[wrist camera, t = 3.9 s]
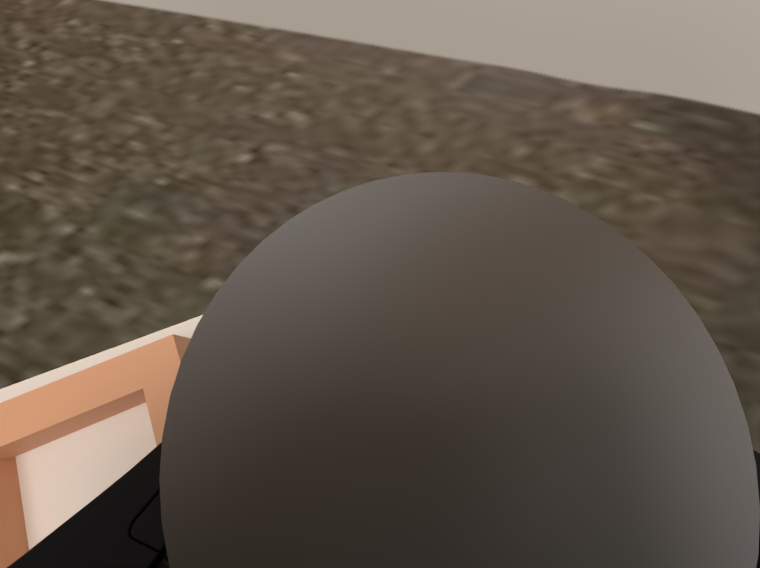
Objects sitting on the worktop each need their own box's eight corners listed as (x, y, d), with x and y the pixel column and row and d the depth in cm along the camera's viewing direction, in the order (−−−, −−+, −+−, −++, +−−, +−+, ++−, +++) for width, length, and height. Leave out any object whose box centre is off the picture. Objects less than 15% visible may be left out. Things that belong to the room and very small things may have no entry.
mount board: (461, 228, 18) (467, 217, 17) (584, 479, 15) (601, 487, 14) (-27, 409, 16) (-60, 410, 14) (3, 746, 13) (-35, 782, 12)
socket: (277, 586, 13) (254, 632, 11) (7, 717, 12) (-88, 802, 10) (205, 341, 15) (173, 334, 13) (-27, 436, 14) (-109, 446, 12)
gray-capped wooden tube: (481, 379, 15) (845, 367, 3) (411, 489, 14) (577, 1059, 2) (382, 308, 16) (390, 92, 4) (309, 407, 15) (32, 499, 3)
